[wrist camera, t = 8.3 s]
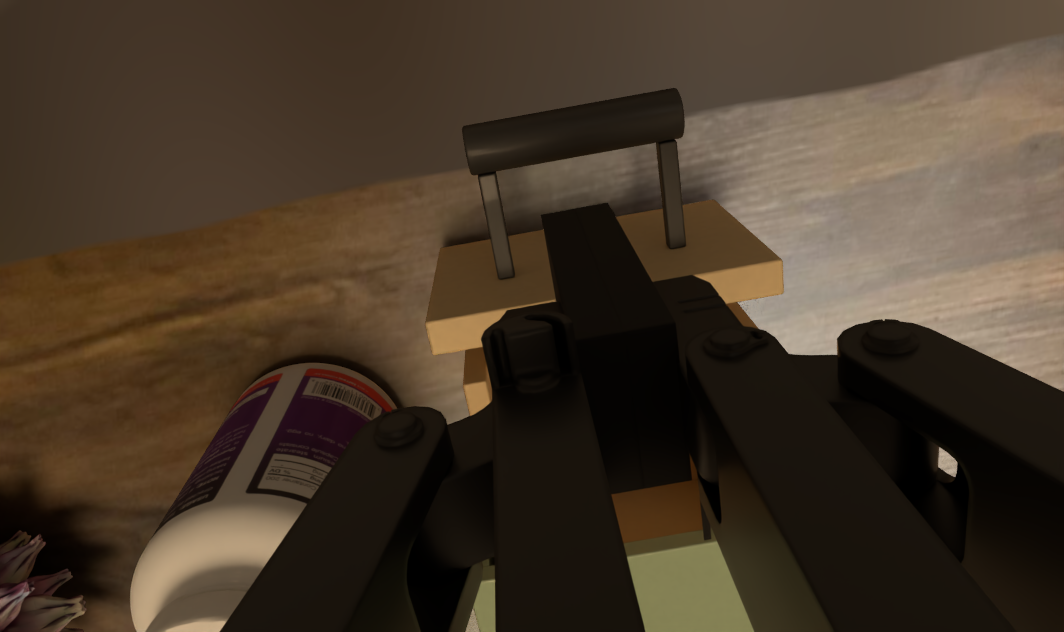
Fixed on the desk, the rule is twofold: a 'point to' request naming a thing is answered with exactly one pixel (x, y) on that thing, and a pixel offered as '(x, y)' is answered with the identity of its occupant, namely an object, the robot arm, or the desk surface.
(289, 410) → the pill bottle
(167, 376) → the desk surface
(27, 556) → the flower
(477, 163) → the drawer
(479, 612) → the cabinet
